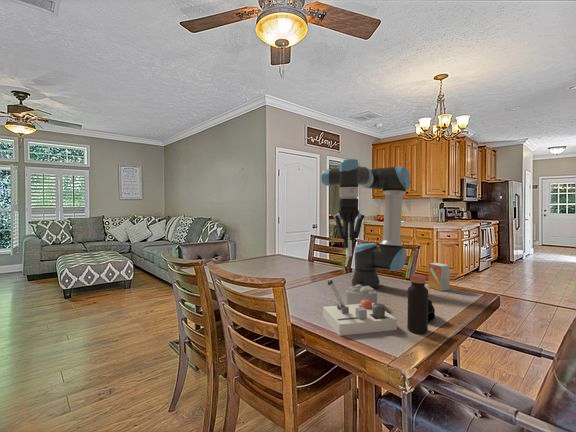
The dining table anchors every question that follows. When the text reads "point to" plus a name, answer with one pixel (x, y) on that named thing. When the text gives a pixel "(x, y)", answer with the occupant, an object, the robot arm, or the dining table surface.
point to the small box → (439, 276)
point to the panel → (356, 320)
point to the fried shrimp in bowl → (430, 311)
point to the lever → (336, 294)
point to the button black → (378, 311)
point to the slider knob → (361, 312)
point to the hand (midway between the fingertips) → (348, 255)
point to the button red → (366, 304)
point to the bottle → (417, 305)
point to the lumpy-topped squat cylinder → (360, 294)
